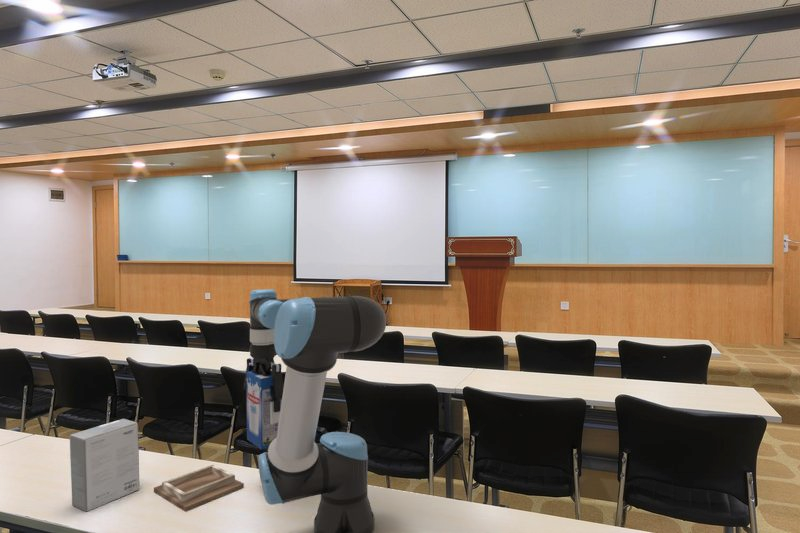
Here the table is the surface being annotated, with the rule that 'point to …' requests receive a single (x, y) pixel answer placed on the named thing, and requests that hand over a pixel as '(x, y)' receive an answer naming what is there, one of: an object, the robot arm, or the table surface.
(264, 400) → the milk carton
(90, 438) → the hard drive box
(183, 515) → the table surface
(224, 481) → the walnut board
